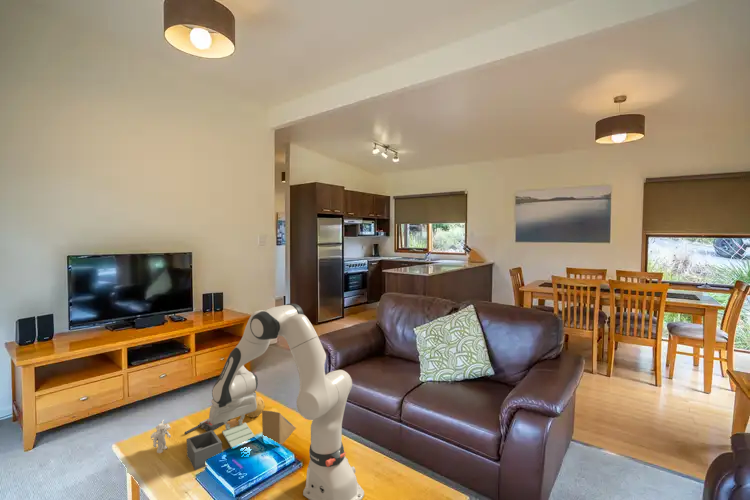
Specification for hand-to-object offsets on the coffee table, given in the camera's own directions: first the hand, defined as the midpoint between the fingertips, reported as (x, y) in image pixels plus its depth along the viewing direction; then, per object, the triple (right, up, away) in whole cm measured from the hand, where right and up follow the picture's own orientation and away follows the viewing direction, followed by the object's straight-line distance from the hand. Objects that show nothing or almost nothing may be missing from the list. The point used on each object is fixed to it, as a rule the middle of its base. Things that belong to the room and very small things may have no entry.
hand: (234, 426), depth 157 cm
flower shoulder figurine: (-26, -4, -11) cm, 29 cm away
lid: (+3, -3, -3) cm, 5 cm away
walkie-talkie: (-14, -4, +6) cm, 16 cm away
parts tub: (-5, -4, -16) cm, 18 cm away
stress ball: (+4, -3, +16) cm, 17 cm away
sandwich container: (+21, -4, 0) cm, 22 cm away
